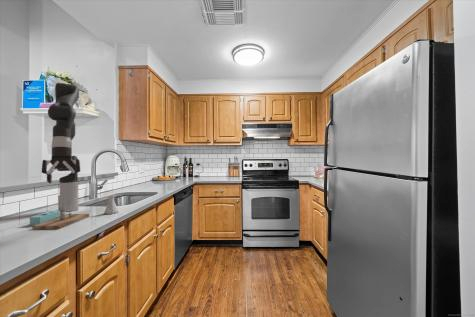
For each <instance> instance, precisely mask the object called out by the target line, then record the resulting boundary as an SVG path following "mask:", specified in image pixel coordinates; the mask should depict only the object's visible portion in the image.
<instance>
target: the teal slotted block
mask: <svg viewBox="0 0 475 317" xmlns="http://www.w3.org/2000/svg"><path fill="white" fill-rule="evenodd" d="M60 213H61V211H58V210H50V211H46V212H43V213H42V212H41V213H40V214H36V215H33V216H30V217H29V227H30V226H31V227H33V226H34V225H37V224H40V223H43V222H46V221H49V220H52V219H54V218H57V217H60Z"/></svg>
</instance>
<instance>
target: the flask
mask: <svg viewBox="0 0 475 317" xmlns="http://www.w3.org/2000/svg"><path fill="white" fill-rule="evenodd" d="M107 197H108V198H107V199H108V200H107V204H106V207H105V210H104V212H103V213H104V214H105V215H113V214H117V213H119V209H118V207H117V204H116V201H115V195H113V194H111V195H108V196H107Z"/></svg>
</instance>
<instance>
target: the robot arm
mask: <svg viewBox="0 0 475 317" xmlns="http://www.w3.org/2000/svg"><path fill="white" fill-rule="evenodd" d="M54 96H55V102H54V103H52V104H51V105H50V106H49V107H48V110H47V115H48V117H49V118H50V120H52V121H56V123H55V125H53V126H52V139H51V158H50V160H48V159H43V160H42V162H41V174H44V175H46V182H48V184H52V180H53V179H52V178H53V176H52V174H53V173H54V171H58V172H70V173H68V174H67V175H65V176H62V177H60V178H59V181H58V182H59V195H58V196H57V202H58V203H57V207H58V208H57V209H58V210H57V211H60V213H61V212H66V213H67V212H68V213H69V212H74V211H78V210H79V183H78V182H79V178H78V173H81V161H80V159H79V158H78V156H77V155H72V154H73V153H72V152H73V151H72V149H73V148H72V141H73V139H74V138H75V136H76V123H75V119H76V116H77V115H76V114H77V112H76V110H75V108H74V105H75V104H77V102H78V101H79V98H80V88H79V87H78V86H77V85H75V84H71V83H64V82H63V83H62V82H57V83H56V84H55V86H54ZM50 164H51V167H49V169H48V170H47V168H48V165H50Z"/></svg>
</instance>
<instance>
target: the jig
mask: <svg viewBox="0 0 475 317" xmlns="http://www.w3.org/2000/svg"><path fill="white" fill-rule="evenodd" d="M89 217H90V213H72V212H68V213H67V212H61V211H60V217H57V218H54V219H52V220H49V221H46V222H43V223H40V224H37V225H34V226H32V230H60V229H64V228H65V227H67V226H70V225H72V224H74V223H77V222H80V221H82V220H84V219H87V218H89Z"/></svg>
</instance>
